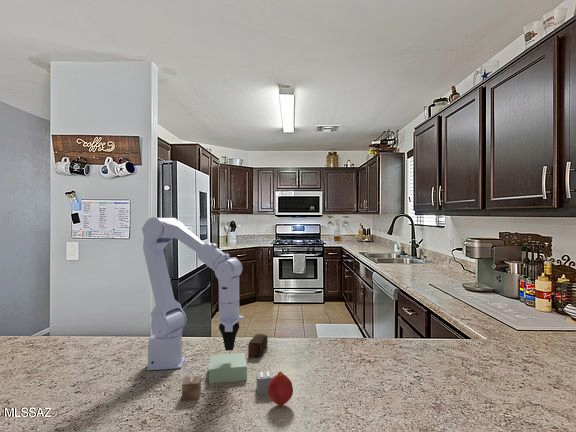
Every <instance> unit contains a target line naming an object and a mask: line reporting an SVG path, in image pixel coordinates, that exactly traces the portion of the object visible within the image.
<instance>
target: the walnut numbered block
mask: <svg viewBox="0 0 576 432" xmlns="http://www.w3.org/2000/svg"><path fill="white" fill-rule="evenodd" d="M201 381H202V377H201V375H199V376H198V375H197V376H195V375H194V376H184V378H183V380H182V383H181V401H182V402H185V401H188V402H189V401H197V400H200V398H201V393H202V382H201Z"/></svg>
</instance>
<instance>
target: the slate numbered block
mask: <svg viewBox="0 0 576 432" xmlns="http://www.w3.org/2000/svg"><path fill="white" fill-rule="evenodd" d="M273 373H274V372H273V370H268V371H266V370H265V371H257V372H256V393H257V396H262V395H269V393H268V386H269V383H270V381H271V380H272V378H273V377H274V374H273Z"/></svg>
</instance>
